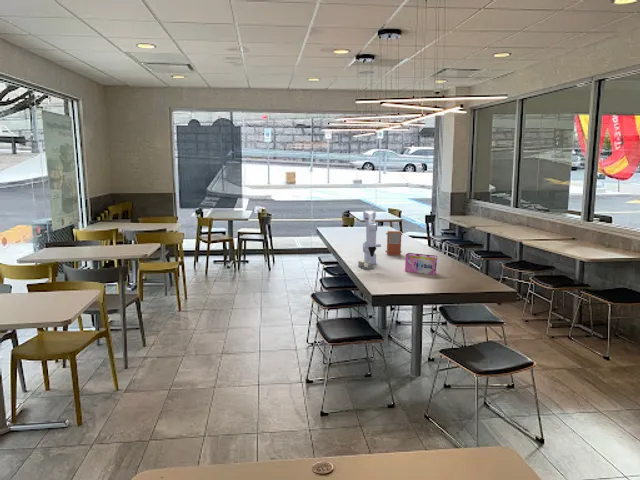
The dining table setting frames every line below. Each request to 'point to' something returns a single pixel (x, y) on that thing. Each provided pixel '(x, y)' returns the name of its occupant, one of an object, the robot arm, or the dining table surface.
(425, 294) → the dining table surface
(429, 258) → the gum box
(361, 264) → the panel board
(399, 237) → the control panel
